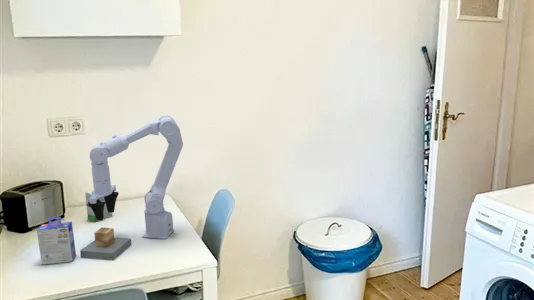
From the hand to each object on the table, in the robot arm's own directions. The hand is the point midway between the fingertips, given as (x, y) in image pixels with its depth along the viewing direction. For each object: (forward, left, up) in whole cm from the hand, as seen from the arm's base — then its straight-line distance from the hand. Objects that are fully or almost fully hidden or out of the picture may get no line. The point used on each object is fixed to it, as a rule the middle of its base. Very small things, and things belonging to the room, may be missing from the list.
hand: (105, 216), depth 166 cm
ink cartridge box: (+8, +17, -10) cm, 21 cm away
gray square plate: (-4, +8, -10) cm, 13 cm away
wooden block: (-4, +8, -7) cm, 11 cm away
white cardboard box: (+15, -20, -10) cm, 27 cm away
